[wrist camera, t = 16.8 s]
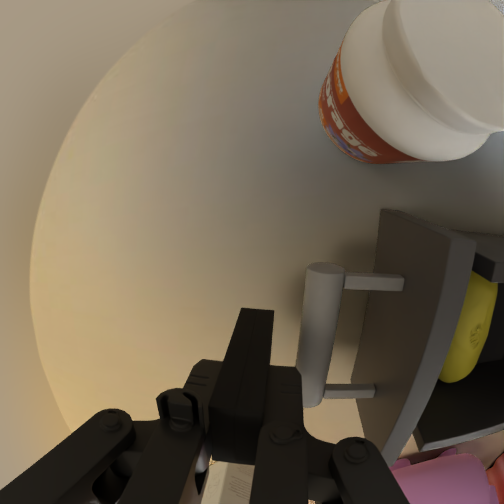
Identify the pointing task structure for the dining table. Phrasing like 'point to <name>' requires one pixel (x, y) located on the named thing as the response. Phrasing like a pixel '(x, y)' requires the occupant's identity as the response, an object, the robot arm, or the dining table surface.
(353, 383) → the drawer
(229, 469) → the small box
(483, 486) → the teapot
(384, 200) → the dining table surface
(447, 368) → the lemon
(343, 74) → the pill bottle
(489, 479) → the flower pot
